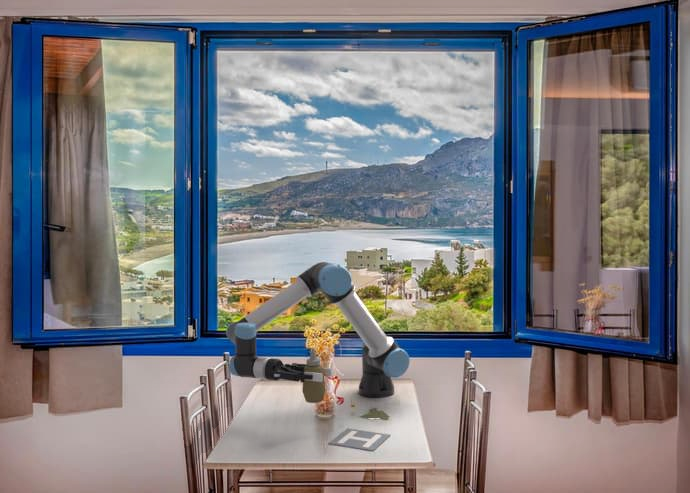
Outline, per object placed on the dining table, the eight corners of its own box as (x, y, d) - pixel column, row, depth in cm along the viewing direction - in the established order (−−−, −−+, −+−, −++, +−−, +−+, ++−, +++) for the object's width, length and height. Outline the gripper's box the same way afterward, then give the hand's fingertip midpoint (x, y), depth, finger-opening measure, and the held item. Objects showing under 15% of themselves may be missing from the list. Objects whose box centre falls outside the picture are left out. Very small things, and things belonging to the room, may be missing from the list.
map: (369, 428, 212) (369, 425, 212) (354, 412, 229) (354, 409, 229) (398, 425, 215) (398, 422, 215) (381, 409, 232) (381, 407, 232)
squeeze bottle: (319, 405, 201) (318, 352, 201) (298, 403, 205) (296, 350, 204) (330, 398, 209) (328, 347, 208) (309, 396, 212) (308, 346, 211)
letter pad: (347, 429, 210) (347, 428, 210) (390, 435, 203) (390, 434, 203) (328, 443, 197) (328, 443, 197) (373, 451, 190) (373, 450, 190)
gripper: (283, 372, 223) (339, 378, 213) (254, 386, 205) (313, 393, 196) (283, 352, 223) (339, 357, 213) (253, 364, 205) (313, 370, 195)
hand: (326, 375), depth 204 cm, fingers closed on squeeze bottle, 6 cm apart
